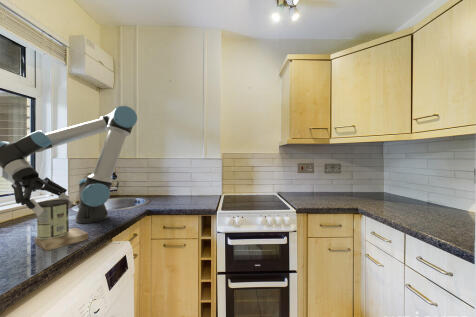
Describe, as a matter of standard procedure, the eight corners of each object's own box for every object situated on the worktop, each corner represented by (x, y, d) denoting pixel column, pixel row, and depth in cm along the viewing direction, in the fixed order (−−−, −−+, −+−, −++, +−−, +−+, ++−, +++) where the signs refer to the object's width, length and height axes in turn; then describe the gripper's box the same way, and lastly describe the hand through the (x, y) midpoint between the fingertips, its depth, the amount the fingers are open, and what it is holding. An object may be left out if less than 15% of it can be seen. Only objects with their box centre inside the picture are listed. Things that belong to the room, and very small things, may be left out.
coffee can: (50, 231, 95) (49, 199, 95) (74, 230, 96) (74, 199, 95) (29, 240, 85) (28, 204, 84) (57, 239, 85) (56, 204, 85)
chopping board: (75, 233, 99) (75, 227, 99) (88, 239, 92) (88, 233, 92) (35, 243, 88) (35, 237, 88) (45, 251, 81) (45, 244, 81)
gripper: (44, 176, 103) (75, 207, 102) (-21, 182, 78) (18, 224, 77) (55, 165, 102) (85, 196, 102) (-7, 168, 77) (32, 210, 77)
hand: (57, 209), depth 89 cm, fingers open, 13 cm apart
